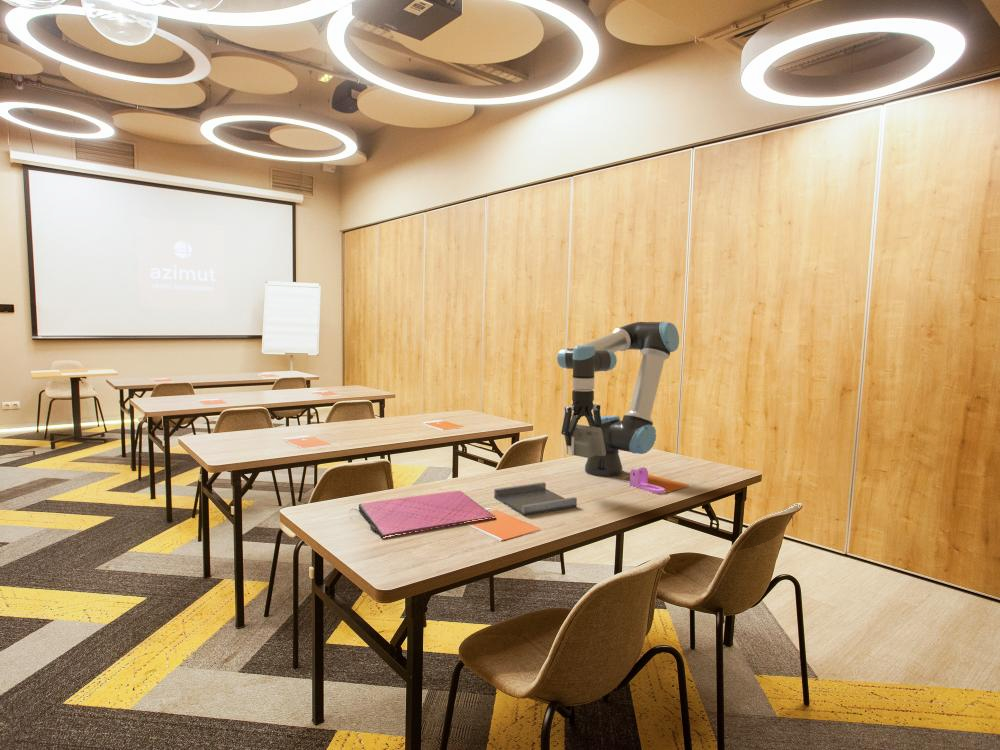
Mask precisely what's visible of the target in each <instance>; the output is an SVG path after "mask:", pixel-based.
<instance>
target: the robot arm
mask: <svg viewBox="0 0 1000 750" xmlns="http://www.w3.org/2000/svg"><path fill="white" fill-rule="evenodd" d="M679 344H680V335H679V332H678V328H677V327H676V325H675V324H674V323H672V322H668V321H667V322H666V321H637V322H632V323H629V324H626V325H623V326H621V327H618V328H615V329H613V331H612V332H611V333H609V334H607V335H604V336H602V337H599V338H597V339H594V340H591V341H589V342H586V343H584V344H581V345H575V346H574V347H573V348H562V349H560V350H559V351H558V353H557V357H556V361H557V364H558V366H559V367H560V368H562V369H567V370H572V386H571V387H572V389H573V390H572V393H571V401H572V404H571V406H564V416H563V417H564V418H563V423H562V427H561V431H560V434H561V435H563V436H564V435H565V436H566V441H565V444H566V445H567V446H568V454H567V455H569V456H575V455H574V437H573V436H572V435H573V433H574V430H575V428H576V425H577V424H578V423H579V420H581V418H582V417H584V418H586V420H587V423H588V426H593V427H599V428H601V429H602V433H603V439H604V444H605V450H606V455H605V456H597V455H596V456H593V457H590V458H586V462H585V464H584V471H585V473H587V474H590V475H593V476H599V477H614V476H615V477H617V476H620V475H622V474H623V466H622V462H621V458H620V454H619V452H620V451H623V452H629V453H632V454H638V455H644V454H647V453H648V452H649V451H651V450H652V448H653V447H654V444H656V443H655V442H656V439H657V434H656V433H657V430H656V427H654V426H653V425H654V422H653V420H652V418H651V416H652V411H653V408H654V404H655V400H656V396H657V392H658V388H659V383H660V380H661V376H662V371H663V368H664V363H665V361H666V360H668V359H670V355H671V353H673V352H676V351H677V350H678V348H679ZM627 350H637V351H639V352H640V354H641V355H642V357H641V362H640V365H639V370H638V374H637V376H636V377H637V378H636V381H635V385H634V389H633V393H632V398H631V401H630V406H629V408H628V412H626V413H625V414H623V417H622V419H621V417H620V416H619V415H602V416H601V405H600V404H596V403H595V404H594V400H595V399H594V398H595V391H594V389H595V373H596V372H597V373H598V372H607V371H612V370H613V369H614V368H615V367H616V365H617V356H616V354H615V352H616V353H617V352H618V351H619V352H626V351H627ZM567 446H566V447H567Z"/></svg>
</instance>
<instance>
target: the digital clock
mask: <svg viewBox="0 0 1000 750" xmlns="http://www.w3.org/2000/svg"><path fill="white" fill-rule="evenodd" d="M572 436H573V437H574V455H573V456H575V457H581V458H586V459H588V458H590V457H593V456H596V455H597V456H605V455H606V450H605V444H604V439H603V433H602V429H601V428H599V427H593V426H589V425H586V424H578V423H577V425H576V428H575V430H574V433H573V435H572ZM563 437H564V440H565V442H566V436H565V435H563ZM566 454H567V455H569V454H568V446H567V445H566Z"/></svg>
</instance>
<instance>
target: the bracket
mask: <svg viewBox="0 0 1000 750" xmlns="http://www.w3.org/2000/svg"><path fill="white" fill-rule="evenodd" d="M629 474H630V475H629V487H631V486H633V487H632V488H634V487H636V488H635V489H637V488H640V489H643V490H642V491H644V490H646V491H645V492H647V491H649V492H648V493H650V492H652V493H651V494H654V493H663V494H665V493H664V492H666V491H665V489H666V488H664V487H662V486H660V485H656V484H653V483H649V471H648V469H647V468H646V467H644V466H643V467H642V466H641V467H639V468H633V469H631V470H630V472H629ZM640 489H639V490H640Z"/></svg>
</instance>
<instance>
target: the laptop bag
mask: <svg viewBox="0 0 1000 750" xmlns="http://www.w3.org/2000/svg"><path fill="white" fill-rule="evenodd" d="M352 510H356V511H358V512H359V513H360V514H361V513H362V514H363V515H362V514H361V515H362V516H363V517H364V518H365V519H366V520H367V522H368V521H369V522H368V523H369V524H370V525H369V526H370V528H369V529H371V530H372V529H373V530H374V531H376V533H377V534H378V533H379V534H378V535H379V536H380V538H381V539H382V538H383V537H385V536H389V535H395V534H403V533H409V532H415V531H421V530H426V531H428V530H427V529H431V528H436V527H442V526H448V525H453V524H459V525H461V524H460V523H464V522H467V521H472V520H478V519H485V518H492V517H496V515H494V514H492V513H491V512H490V511H488V510H487V509H485V508H484V507H483V506H481V505H480V504H478V503H477V502H475V500H473V499H472V498H471V497H470V496H468V495H467V494H466V493H464V492H463V491H461V490H452V491H444V492H437V493H436V492H435V493H429V494H422V495H421V494H420V495H415V496H414V495H413V496H406V497H399V498H391V499H385V500H376V501H369V502H364V503H359V504H358V509H357V508H352V509H350V511H349V512H351V511H352ZM448 527H449V526H448ZM442 528H443V527H442ZM373 530H372V531H373ZM431 530H432V529H431ZM374 531H373V532H374ZM421 532H422V531H421Z"/></svg>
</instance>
